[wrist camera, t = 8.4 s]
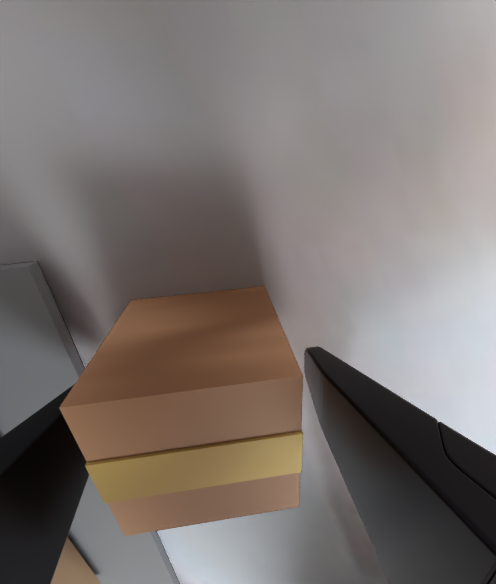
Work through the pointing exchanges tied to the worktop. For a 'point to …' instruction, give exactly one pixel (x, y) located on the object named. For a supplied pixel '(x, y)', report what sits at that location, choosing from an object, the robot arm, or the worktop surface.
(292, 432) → the yellow-striped wooden block
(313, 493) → the worktop surface
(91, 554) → the base plate
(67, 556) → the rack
